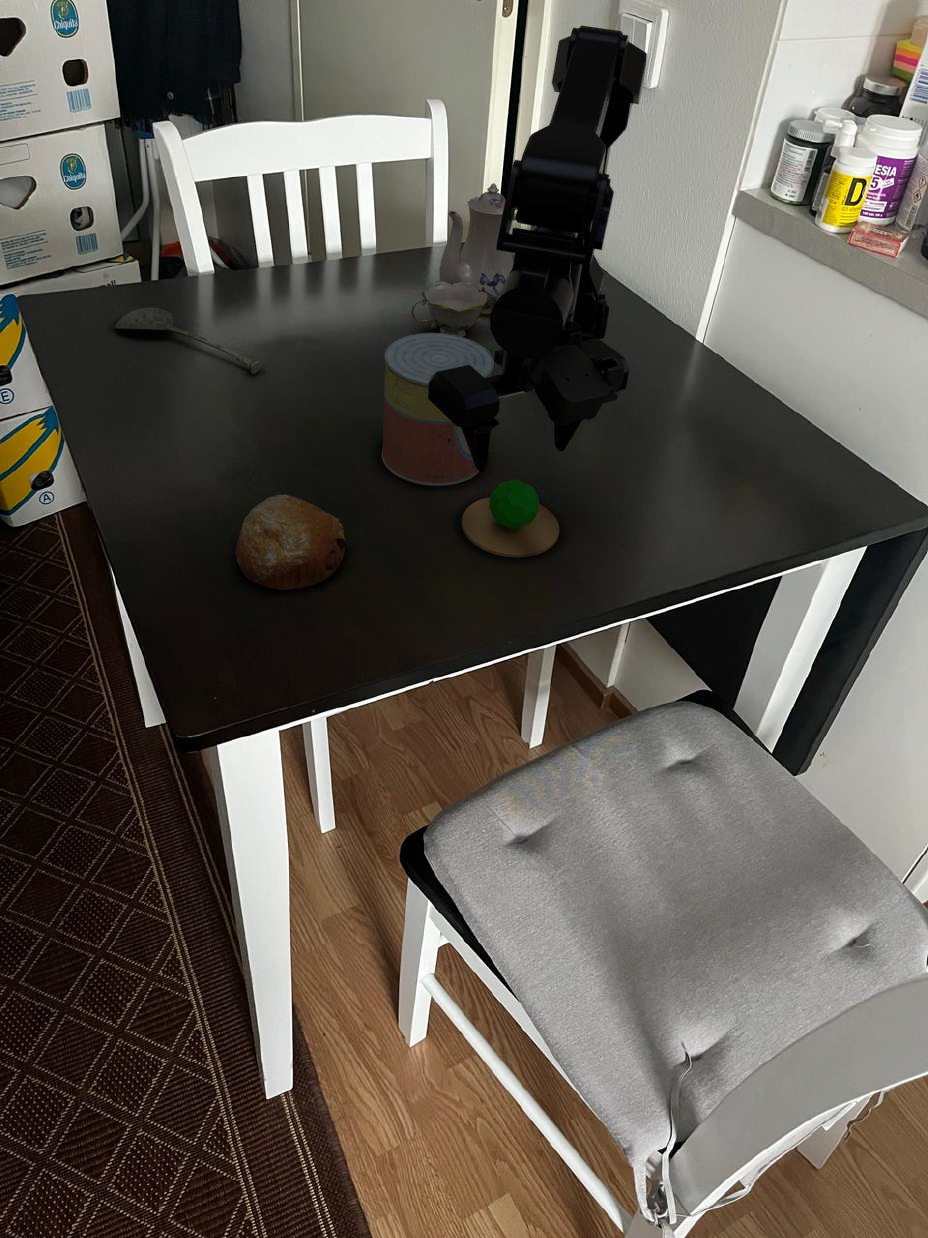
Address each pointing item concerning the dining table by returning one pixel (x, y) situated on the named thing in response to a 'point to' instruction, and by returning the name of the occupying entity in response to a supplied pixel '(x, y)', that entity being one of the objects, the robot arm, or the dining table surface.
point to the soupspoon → (173, 330)
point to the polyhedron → (514, 504)
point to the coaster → (509, 532)
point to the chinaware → (470, 268)
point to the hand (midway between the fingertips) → (520, 459)
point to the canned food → (426, 409)
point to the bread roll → (289, 544)
